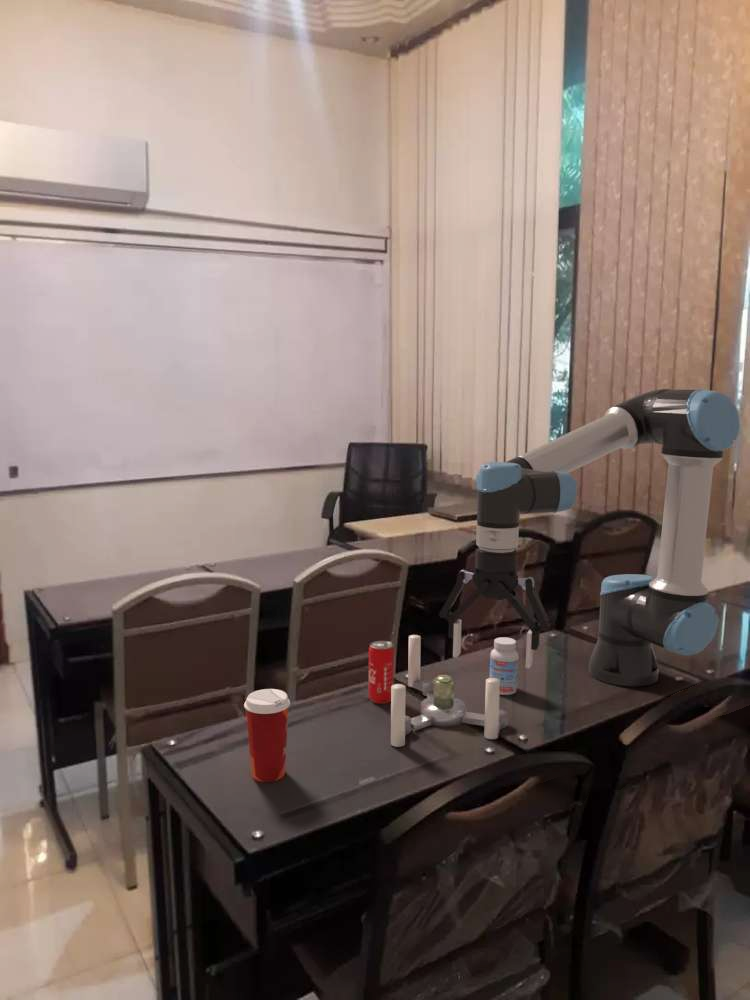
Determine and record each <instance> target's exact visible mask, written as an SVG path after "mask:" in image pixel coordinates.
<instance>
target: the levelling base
mask: <svg viewBox="0 0 750 1000" xmlns="http://www.w3.org/2000/svg"><path fill="white" fill-rule="evenodd" d="M433 680H434V693H427V696H426V698H425V699H423V700H422V701H421V702H420V715H417V716H413V717H410V718H411V731H413V732H415V731H416V732H417V731H418V730H420V729H423V728H426V727H428V726H438V727H454V726H455V727H456V726H458V725H461V724H462V723H463V724H468V725H473V726H474V725H476V726H481V727H484V725H485V714H483V713H476V712H470V711H467V704H466V703H465V701H463V700H462V699H459V698H457V697H454V695H455V679H454V678H452V677H451V675H448V674H439V675H437V676H436V677H434V678H433Z"/></svg>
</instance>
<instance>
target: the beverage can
mask: <svg viewBox="0 0 750 1000" xmlns="http://www.w3.org/2000/svg"><path fill="white" fill-rule="evenodd" d="M393 645H394V644H393V643H392V642H390V641H386V640H375V641H373V642H370V643H369V648H368V697H369V698H370V701H371V702H372V703H375V704H388V703H390V702H391V686H392V685H394V678H395V677H394V673H395V672H394V671H395V670H394V667H395V666H394V664H395V663H394V661H395V659H394V655H395V649H394V646H393Z"/></svg>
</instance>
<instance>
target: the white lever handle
mask: <svg viewBox="0 0 750 1000" xmlns="http://www.w3.org/2000/svg"><path fill="white" fill-rule="evenodd" d="M421 639H422V637H421V635H418V634H411V635H408V658H407V659H408V662H407V663H408V666H407V667H408V670H407V674H408V675H407V686H408V687H410V688H414V689H416V690H418V691H420V692H422V695H423V696H425V697H427V693H434V679H426V680H423V679H421V647H422V646H421V645H422V644H421V642H422V641H421Z"/></svg>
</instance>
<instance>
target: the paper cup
mask: <svg viewBox="0 0 750 1000" xmlns="http://www.w3.org/2000/svg"><path fill="white" fill-rule="evenodd" d="M290 705H291V701H290V699H289V697H288V694H287V693H286V692H285V691H284V690H281V689H276V688H264V689H259V690H255V691H253V692H251V693H249V694H248V695H247V697H246V700H245V702H244V704H243V707H244V709H245V711H246V724H247V736H248V745H249V746H248V747H249V759H250V768H251V770H250V772H251V776H252V779H254V780H255V781H257V782H260V783H274V782H277V781H280V780H281V779H283V777H284V776H285V773H286V763H287V762H286V759H287V741H288V740H287V738H288V719H289V718H288V717H289V707H290Z"/></svg>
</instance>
